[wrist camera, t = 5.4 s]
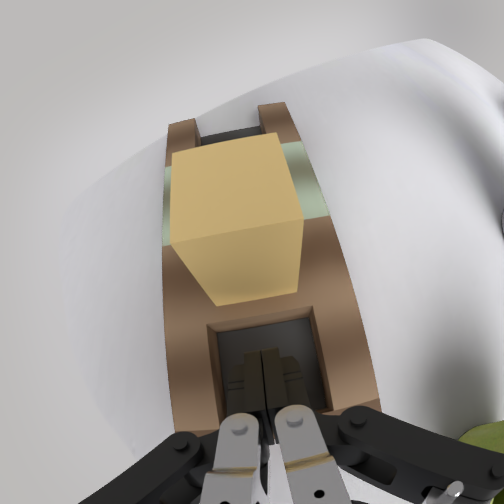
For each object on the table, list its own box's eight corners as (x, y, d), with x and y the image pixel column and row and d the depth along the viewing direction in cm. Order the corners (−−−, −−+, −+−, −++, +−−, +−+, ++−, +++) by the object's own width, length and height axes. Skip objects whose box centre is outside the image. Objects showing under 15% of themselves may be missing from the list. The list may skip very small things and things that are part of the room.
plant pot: (400, 473, 13) (462, 507, 6) (482, 381, 15) (558, 362, 7) (450, 527, 9) (506, 559, 2) (521, 443, 11) (587, 441, 3)
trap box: (368, 410, 16) (381, 413, 13) (192, 439, 16) (177, 446, 14) (285, 124, 29) (284, 102, 26) (176, 145, 29) (168, 124, 27)
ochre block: (297, 292, 17) (304, 218, 10) (216, 306, 18) (169, 243, 10) (281, 223, 20) (276, 132, 13) (209, 237, 20) (172, 153, 13)
